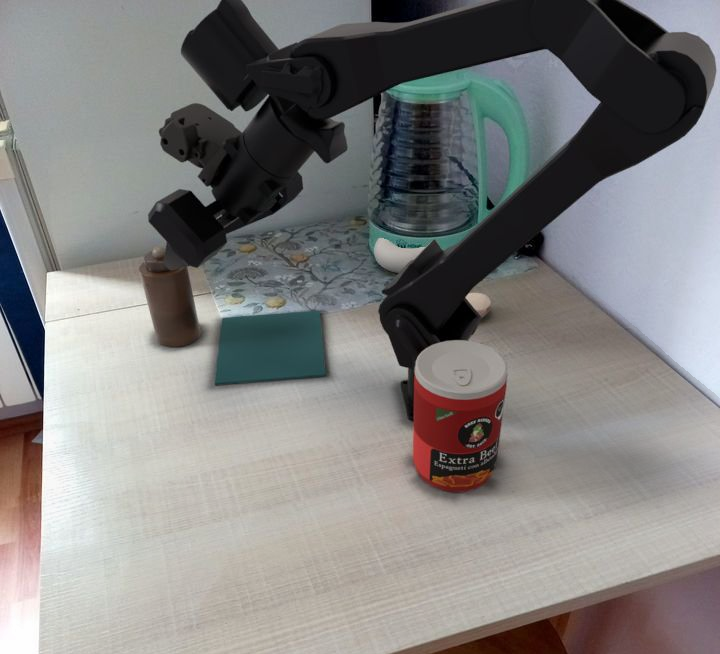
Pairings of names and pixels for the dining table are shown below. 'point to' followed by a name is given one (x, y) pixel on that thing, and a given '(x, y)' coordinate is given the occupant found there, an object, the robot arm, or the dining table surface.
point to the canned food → (458, 413)
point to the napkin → (270, 348)
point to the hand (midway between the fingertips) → (195, 248)
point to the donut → (394, 255)
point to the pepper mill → (169, 301)
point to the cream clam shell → (479, 303)
